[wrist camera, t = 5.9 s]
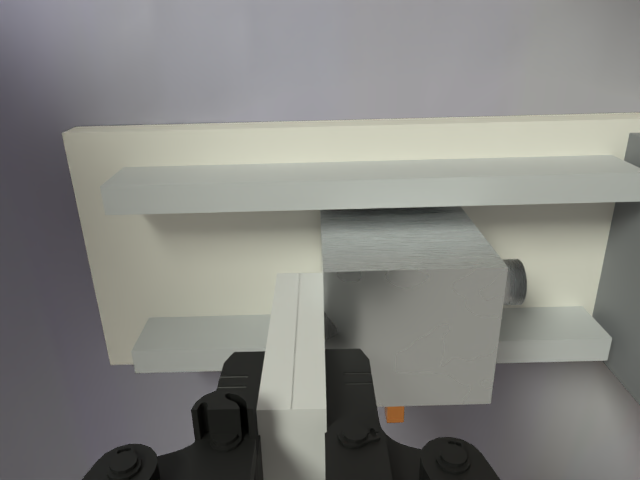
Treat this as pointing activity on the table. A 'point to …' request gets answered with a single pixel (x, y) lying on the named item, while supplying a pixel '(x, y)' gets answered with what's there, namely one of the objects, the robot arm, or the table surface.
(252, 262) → the base
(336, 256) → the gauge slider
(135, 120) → the table surface
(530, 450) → the table surface
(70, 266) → the table surface
